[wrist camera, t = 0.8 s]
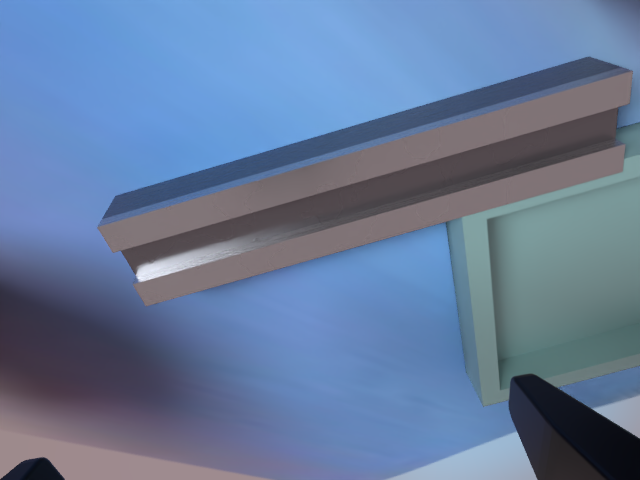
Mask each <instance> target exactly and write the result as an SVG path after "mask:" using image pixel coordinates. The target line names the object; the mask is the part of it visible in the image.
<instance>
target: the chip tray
mask: <svg viewBox="0 0 640 480" xmlns="http://www.w3.org/2000/svg"><path fill="white" fill-rule="evenodd" d="M615 139H617V140H619V141H621V142H622V143H624V144H625V153H624V163H623V172H620V173H617V174H613V175H610V176H606V177H603V178H599V179H596V180H592V181H589V182H585V183H581V184H578V185H574V186H571V187H567V188H564V189H560V190H557V191H553V192H550V193H546V194H542V195H539V196H535V197H532V198H528V199H525V200H521V201H518V202H514V203H511V204H507V205H503V206H500V207H496V208H493V209H489V210H486V211H482V212H479V213H475V214H472V215H468V216H464V217H461V218H457V219H454V220H450V221H447V222H446V227H447V234H448V241H449V249H450V256H451V264H452V271H453V279H454V286H455V293H456V301H457V308H458V316H459V323H460V330H461V338H462V345H463V353H464V360H465V368H466V373H467V375H468V377H469V379H470V381H471V383H472V385H473V387H474V389H475V391H476V393H477V395H478V397H479V399H480V401H481V404H482V406H483V407H484V406H488V405H492V404H496V403H500V402H503V401H507V400H509V392H510V381H511V378H512V377H513V376H517V375H523V374H528V373H533V374H535V375H537V376H539V377H540V378H542V379H544V380H545V381H547V382H549V383H550V384H552V385H553V386H555V387H561V386H564V385H568V384H572V383H576V382H580V381H583V380H587V379H591V378H595V377H599V376H603V375H606V374H610V373H614V372H618V371H622V370H625V369H629V368H633V367H637V366H640V122H639V123H635V124H632V125H628V126H625V127H621V128H618V129H616V137H615Z"/></svg>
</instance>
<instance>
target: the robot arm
mask: <svg viewBox="0 0 640 480" xmlns="http://www.w3.org/2000/svg"><path fill="white" fill-rule="evenodd" d="M509 410H510V414H511V418H512V420H513V423H514V425H515V427H516V430H517V432H518V434H519V437H520V439H521V441H522V444H523V446H524V448H525V451H526V453H527V456H528V458H529V460H530V463H531V465H532V468H533V470H534V472H535V474H536V477H537V479H538V480H640V438H638V437H636V436H635V435H633V434H632V433H630V432H628V431H627V430H625V429H623V428H622V427H620V426H619V425H617V424H615V423H613V422H612V421H610V420H609V419H607V418H606V417H604V416H602V415H601V414H599V413H597V412H596V411H594V410H592V409H591V408H589V407H588V406H586V405H584V404H583V403H581V402H579V401H578V400H576V399H575V398H573V397H571V396H570V395H568V394H566V393H565V392H563V391H562V390H560V389H558V388H557V387H555V386H553V385H552V384H550V383H549V382H547V381H545V380H544V379H542V378H540V377H539V376H537V375H535V374H533V373H528V374H523V375H517V376H513V377H512V378H511V381H510V392H509ZM0 480H65V479H64V478H63V476H62V475H61V474H60V473H59V472H58V471H57V469H56V468H55V467H54V466H53V465H52V463H51V462H50V461H49V460H48V459H47V458H44V457H43V458H35V459H29V460H25V461H23V462H21V463H20V464H19V465H17V466H16V467H15V468H14V469H12V470H11V471H10V472H9V473H8V474H6V475H5V476H4V477H3V478H1V479H0Z"/></svg>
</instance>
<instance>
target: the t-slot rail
mask: <svg viewBox="0 0 640 480" xmlns="http://www.w3.org/2000/svg"><path fill="white" fill-rule="evenodd" d="M632 74H633V71H632V70H629V69H625V68H622V67H619V66H616V65H613V64H610V63H607V62H604V61H601V60H598V59H594V58H591V57H586V58H583V59H579V60H576V61H572V62H569V63H566V64H562V65H559V66H555V67H552V68H549V69H545V70H542V71H539V72H535V73H532V74H528V75H525V76H522V77H518V78H515V79H511V80H508V81H505V82H501V83H498V84H494V85H491V86H488V87H484V88H481V89H477V90H474V91H471V92H467V93H464V94H460V95H457V96H454V97H450V98H447V99H443V100H440V101H437V102H433V103H430V104H426V105H423V106H420V107H416V108H413V109H410V110H406V111H403V112H399V113H396V114H393V115H389V116H386V117H382V118H379V119H376V120H372V121H369V122H365V123H362V124H359V125H355V126H352V127H348V128H345V129H342V130H338V131H335V132H331V133H328V134H325V135H321V136H318V137H314V138H311V139H308V140H304V141H301V142H298V143H294V144H291V145H287V146H284V147H281V148H277V149H274V150H270V151H267V152H264V153H260V154H257V155H253V156H250V157H247V158H243V159H240V160H236V161H233V162H230V163H226V164H223V165H219V166H216V167H213V168H209V169H206V170H202V171H199V172H196V173H192V174H189V175H185V176H182V177H179V178H175V179H172V180H169V181H165V182H162V183H158V184H155V185H152V186H148V187H145V188H141V189H138V190H135V191H131V192H128V193H124V194H121V195H118V196H115V198H114V200H113V201H112V203H111V205H110V206H109V208H108V210H107V211H106V213H105V215H104V217H103V218H102V220H101V222H100V223H99V225H98V227H97V228H98V229H99V231H100V233H101V234H102V236H103V237H104V239H105V241H106V242H107V244H108V246H109V247H110V249H111V250H112V252H113V253H114V252H118V251H121V252H122V253H123V255H124V257H125V258H126V260H127V262H128V263H129V265H130V267H131V268H132V270H133V272H134V273H135V275H136V277H135V279H134V282H133V286H134V288H135V289H136V291H137V292H138V294H139V296H140V297H141V299H142V301H143V302H144V304H145V305H146V306H149V305H152V304H156V303H160V302H163V301H167V300H170V299H174V298H177V297H181V296H184V295H188V294H191V293H195V292H199V291H202V290H206V289H209V288H213V287H216V286H220V285H223V284H227V283H230V282H234V281H238V280H241V279H245V278H248V277H252V276H255V275H259V274H262V273H266V272H269V271H273V270H277V269H280V268H284V267H287V266H291V265H294V264H298V263H301V262H305V261H308V260H312V259H316V258H319V257H323V256H326V255H330V254H333V253H337V252H340V251H344V250H347V249H351V248H355V247H358V246H362V245H365V244H369V243H372V242H376V241H379V240H383V239H386V238H390V237H394V236H397V235H401V234H404V233H408V232H411V231H415V230H418V229H422V228H425V227H429V226H433V225H436V224H440V223H443V222H447V221H450V220H454V219H457V218H461V217H464V216H468V215H472V214H475V213H479V212H482V211H486V210H489V209H493V208H496V207H500V206H503V205H507V204H511V203H514V202H518V201H521V200H525V199H528V198H532V197H535V196H539V195H542V194H546V193H550V192H553V191H557V190H560V189H564V188H567V187H571V186H574V185H578V184H581V183H585V182H589V181H592V180H596V179H599V178H603V177H606V176H610V175H613V174H617V173H620V172H623V163H624V153H625V144H624V143H622V142H621V141H619V140H617V139H615V137H616V126H617V115H618V107H620V106H624V105H627V104H630V94H631V84H632Z"/></svg>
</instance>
